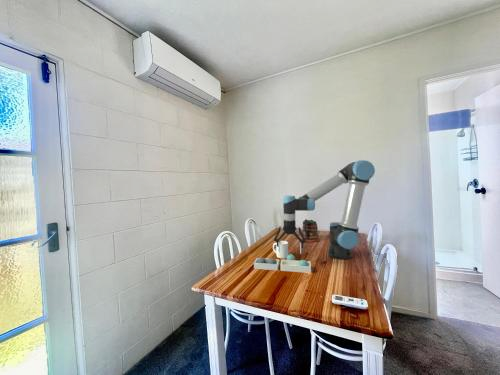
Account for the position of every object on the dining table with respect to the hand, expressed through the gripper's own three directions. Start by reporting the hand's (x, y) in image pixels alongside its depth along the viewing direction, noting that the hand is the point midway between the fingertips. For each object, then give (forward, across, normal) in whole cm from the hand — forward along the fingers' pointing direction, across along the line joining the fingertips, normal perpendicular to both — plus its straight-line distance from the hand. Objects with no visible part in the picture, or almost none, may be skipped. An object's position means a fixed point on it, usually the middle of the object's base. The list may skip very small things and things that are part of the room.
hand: (289, 252), depth 131 cm
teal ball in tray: (+6, -9, +10) cm, 14 cm away
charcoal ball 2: (+6, +10, +10) cm, 16 cm away
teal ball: (+7, -1, 0) cm, 7 cm away
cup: (+7, +7, -10) cm, 14 cm away
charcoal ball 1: (+7, +17, +10) cm, 20 cm away
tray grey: (+7, +13, +10) cm, 18 cm away
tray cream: (+7, -4, +10) cm, 13 cm away
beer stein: (+7, -14, -51) cm, 53 cm away
